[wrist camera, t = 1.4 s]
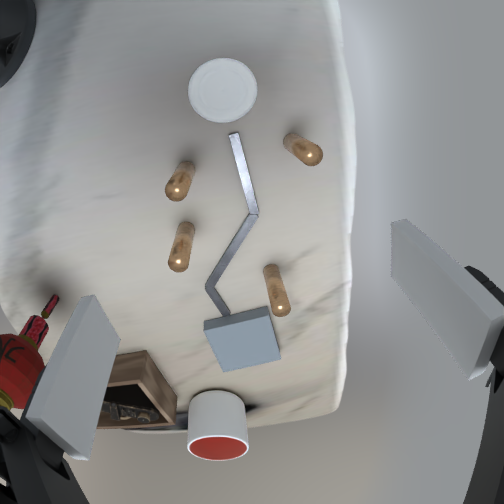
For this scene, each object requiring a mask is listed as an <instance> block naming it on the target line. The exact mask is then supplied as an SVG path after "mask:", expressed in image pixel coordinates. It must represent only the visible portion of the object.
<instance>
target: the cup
mask: <svg viewBox="0 0 504 504" xmlns="http://www.w3.org/2000/svg"><path fill="white" fill-rule="evenodd" d="M187 447H188V450H189V452H190V453H192V454H193V455H195V456H197V457H199V458H202V459H207V460H216V461H221V460H230V459H235V458H238V457H240V456H242V455H244V454H245V453H246V452H247V451H248V449H249V444H248V434H247V424H246V414H245V406H244V403H243V401H242V400H241V399H240V398H239V397H238V396H236V395H235V394H233V393H230V392H226V391H220V390H212V391H206V392H203V393H200V394H198V395H197V396H195V397H194V398H193V399H192V400H191V402H190V404H189V418H188V445H187Z"/></svg>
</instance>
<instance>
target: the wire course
mask: <svg viewBox="0 0 504 504" xmlns="http://www.w3.org/2000/svg"><path fill="white" fill-rule="evenodd" d="M229 138H230V142H231V145H232V149H233V153H234V156H235V160H236V164H237V167H238V171H239V175H240V178H241V182H242V186H243V189H244V193H245V197H246V201H247V204H248V208H249V212H250V213H249V214H248V216H247V217H246V219H245V221H244V222H243V224H242V225H241V227H240V229H239V230H238V232H237V233H236V235H235V237H234V238H233V240H232V242H231V243H230V245H229V246H228V248H227V250H226V251H225V253H224V254H223V256H222V258H221V259H220V261H219V263H218V264H217V266H216V267H215V269H214V271H213V272H212V274H211V276H210V277H209V279H208V280H207V282H206V284H205V290H206V292H207V293H208V295H209V296H210V298H211V299H212V301H213V302H214V304H215V305H216V306H217V308H218V309H219V311H220V312H221V314H222V315H223V317H226V316H228V315H230V311H229V309H228V308H227V306H226V305H225V303H224V302H223V300H222V299H221V297H220V295H219V294H218V292H217V291H216V289H215V288H214V286H215V284H216V283H217V281H218V280H219V278H220V277H221V275H222V273H223V272H224V270H225V269H226V267H227V265H228V264H229V262H230V261H231V259H232V258H233V256H234V254H235V253H236V251H237V250H238V248H239V247H240V245H241V243H242V242H243V240H244V239H245V237H246V236H247V234H248V232H249V231H250V229H251V228H252V226H253V225H254V223H255V222H256V220H257V218H258V215H257V214H259V211H258V207H257V203H256V200H255V196H254V192H253V188H252V184H251V180H250V176H249V173H248V169H247V165H246V161H245V157H244V153H243V150H242V146H241V142H240V138H239V135H238V132H237V133H233V134H230V135H229ZM283 144H284V147H285V148H286V149H287V150H288V151H290V152H291V153H292V154H293V155H295V156H296V157H297V158H298V159H299V160H301V161H302V162H303V163H304V164H306V165H308V166H315V165H317V164H319V163H320V162H321V160H322V158H323V152H322V149H321V148H320V147H319V146H318V145H316V144H314V143H312V142H310V141H308V140H306V139H304V138H303V137H301V136H299V135H296V134H293V133H292V134H288V135H287V136H286V137H285V138H284V141H283ZM194 173H195V167H194V165H193V164H192V163H191V162H188V161H185V162H182V163H180V164H179V166H178V167H177V169H176V170H175V172H174V174H173V175H172V177H171V178H170V180H169V182H168V183H167V185H166V187H165V193H166V196H167V197H168V198H169V199H170V200H172V201H181V200H183V199H184V198H185V197H186V196H187V193H188V190H189V188H190V185H191V182H192V179H193V176H194ZM194 231H195V229H194V226H193V225H192V224H191V223H189V222H183V223H181V224H180V225H179V226H178V229H177V233H176V236H175V239H174V243H173V246H172V249H171V253H170V256H169V260H168V265H169V267H170V269H171V270H173V271H175V272H183V271H185V270H186V269H187V268H188V265H189V259H190V254H191V248H192V242H193V237H194ZM263 273H264V278H265V282H266V286H267V291H268V295H269V299H270V304H271V308H272V312H273V314H274V315H275V316H277V317H283V316H286V315H287V314H289V312H290V310H291V307H290V303H289V300H288V297H287V294H286V291H285V288H284V284H283V281H282V278H281V275H280V272H279V269H278V267H277V266H276V265H273V264H270V265H267V266H266V267H265V268H264V270H263Z"/></svg>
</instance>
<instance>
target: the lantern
mask: <svg viewBox="0 0 504 504" xmlns="http://www.w3.org/2000/svg"><path fill="white" fill-rule="evenodd" d="M58 301H59V297H58V296H57V295H53V296H52V297H51V299H50V300H49V302H48V303H47V305H46V306H45V308H44V309H43V311H42V312H41V315H42V318H41V317H40V316H37V315H33V316H31V317H30V318H29V320H28V321H27V323H26V325H25V326H24V328H23V329H22V331H21V332H20V334H19V335H18V336H16V335H13V334H2V335H0V406H4V407H6V408H7V409H8V410H9V411H10V409H11V408H18V409H24V408H25V406H26V403H27V401H28V398H29V396H30V394H32V392H31V391H32V389H33V387H34V386H35V382H36V380H37V377H38V375H39V373H40V372H41V371H42V370H43V368H44V367H45V365H44V362H43V359H42V357H41V355H40V354H39V353H38V349H39V347H40V345H41V343H42V341H43V340H44V338H45V336H46V334H47V332H48V330H49V327H48V324H47V323H46V321H45V320H44V319H47V318H48V317H49V315H50V314H51V312H52V310H53V309H54V307H55V306H56V304H57V302H58Z"/></svg>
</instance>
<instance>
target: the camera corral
mask: <svg viewBox="0 0 504 504" xmlns="http://www.w3.org/2000/svg"><path fill="white" fill-rule="evenodd" d="M130 384H138V385H139V386H140V388H141V389H142V390H143V391H144V393H145V394H146V395H147V397H148V398H149V399H150V400H151V402H152V403H153V404H154V405H155V406H156V408H157V409H158V410H159V419H157V420H155V421H150V422H149V423H141V422H139V421H138V420H137V418H132V417H131V418H129V419H125V420H123V419H120V421H118V420H113V419H111V415H110V413H107V412H103V411H102V412H101V413H100V415H99V419H98V423H97V427H96V429H118V428H139V427H153V426H165V425H175V421H176V408H177V396H176V395H175V393H174V392H173V390H172V389H171V387H170V386H169V385H168V383H167V382H166V380H165V379H164V377H163V376H162V374H161V373H160V371H159V370H158V368H157V367H156V365H155V364H154V362H153V361H152V359H151V358H150V356H149V354H148V353H147V351H146V350H145V351H139V352H134V353H128V354H122V355H116V356H115V360H114V363H113V367H112V370H111V374H110V377H109V381H108V384H107V387H112V386H121V385H130Z"/></svg>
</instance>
